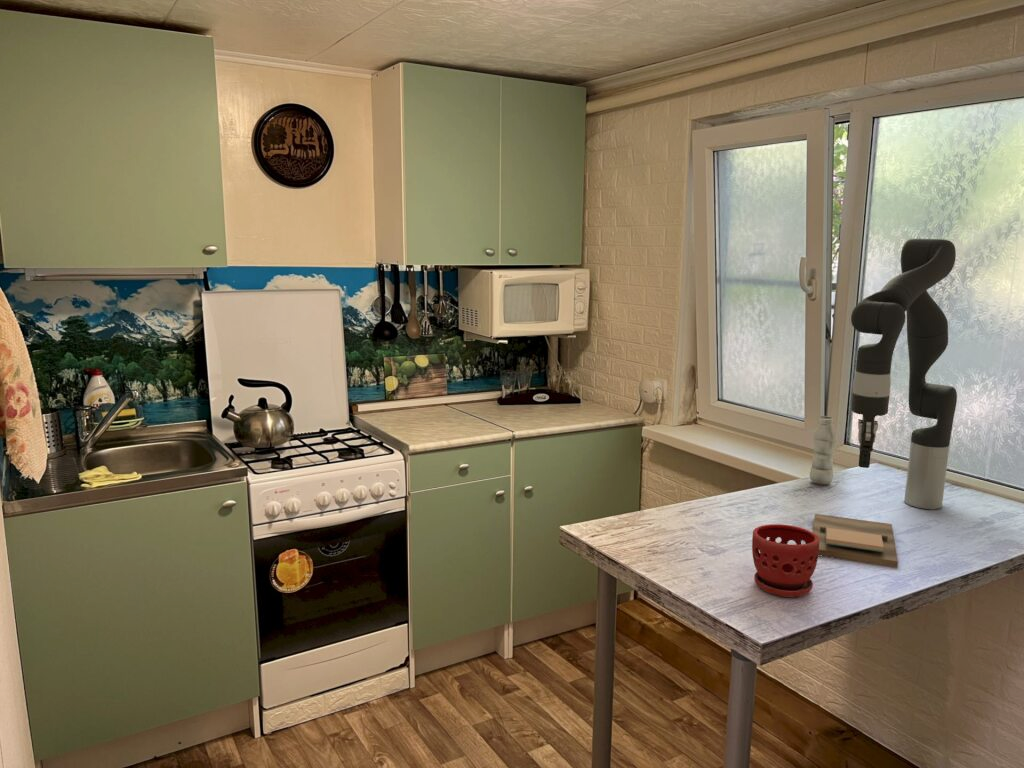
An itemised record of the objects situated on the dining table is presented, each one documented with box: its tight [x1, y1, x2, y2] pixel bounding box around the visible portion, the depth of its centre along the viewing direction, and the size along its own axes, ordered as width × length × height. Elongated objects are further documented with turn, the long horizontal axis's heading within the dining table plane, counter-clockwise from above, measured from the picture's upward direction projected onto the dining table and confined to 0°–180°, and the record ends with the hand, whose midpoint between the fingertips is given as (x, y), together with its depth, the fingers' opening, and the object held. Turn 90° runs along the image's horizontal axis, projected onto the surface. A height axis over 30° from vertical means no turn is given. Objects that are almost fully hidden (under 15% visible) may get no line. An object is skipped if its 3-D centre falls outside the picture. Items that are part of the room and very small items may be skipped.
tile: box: [826, 528, 884, 552], centre depth 182 cm, size 10×12×1 cm
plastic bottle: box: [809, 415, 838, 486], centre depth 228 cm, size 6×7×20 cm
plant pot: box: [751, 523, 819, 598], centre depth 162 cm, size 13×13×12 cm
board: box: [812, 513, 899, 569], centre depth 187 cm, size 24×18×3 cm
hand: (863, 466), depth 177 cm, fingers closed
